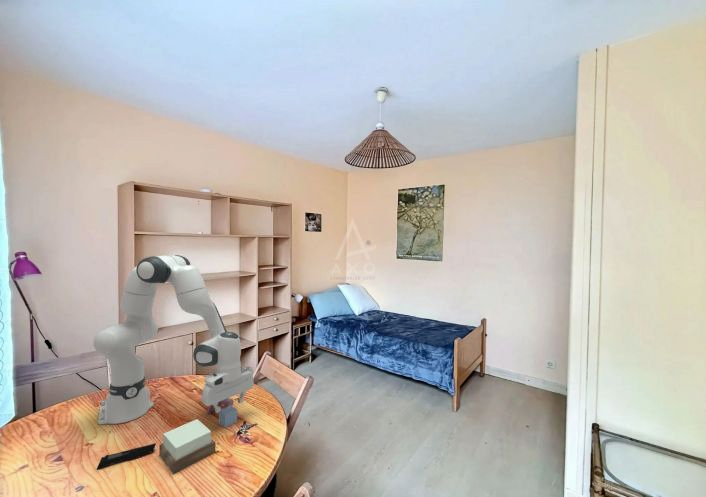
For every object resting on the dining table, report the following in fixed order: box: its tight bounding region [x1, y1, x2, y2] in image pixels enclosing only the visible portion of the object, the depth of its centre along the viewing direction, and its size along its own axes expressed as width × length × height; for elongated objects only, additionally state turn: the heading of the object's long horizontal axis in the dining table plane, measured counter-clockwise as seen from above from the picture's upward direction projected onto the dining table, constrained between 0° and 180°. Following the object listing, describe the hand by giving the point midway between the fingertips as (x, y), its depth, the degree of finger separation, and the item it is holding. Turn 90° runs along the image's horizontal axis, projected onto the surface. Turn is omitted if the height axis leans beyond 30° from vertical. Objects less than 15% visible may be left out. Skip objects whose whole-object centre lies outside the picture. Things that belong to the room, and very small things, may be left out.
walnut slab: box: [158, 438, 216, 475], centre depth 100 cm, size 13×13×4 cm
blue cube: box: [218, 405, 238, 428], centre depth 118 cm, size 5×5×5 cm
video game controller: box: [206, 397, 234, 415], centre depth 125 cm, size 10×5×7 cm, turn 85°
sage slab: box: [162, 418, 212, 461], centre depth 99 cm, size 11×11×4 cm
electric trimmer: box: [96, 442, 157, 470], centre depth 97 cm, size 4×16×3 cm, turn 119°
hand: (229, 407), depth 118 cm, fingers open, 8 cm apart
